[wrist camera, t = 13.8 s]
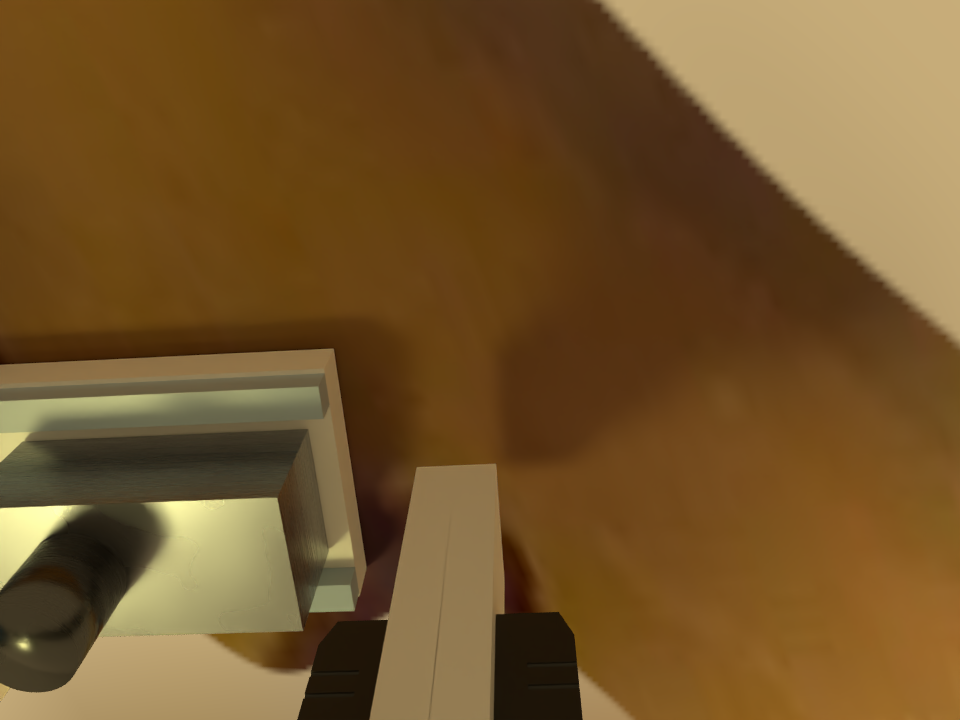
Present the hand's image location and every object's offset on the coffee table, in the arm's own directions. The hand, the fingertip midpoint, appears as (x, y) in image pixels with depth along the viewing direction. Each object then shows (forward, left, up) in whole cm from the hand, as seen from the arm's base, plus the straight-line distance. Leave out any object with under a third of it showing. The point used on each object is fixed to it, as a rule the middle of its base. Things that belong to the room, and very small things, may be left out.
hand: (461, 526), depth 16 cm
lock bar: (-6, 0, -1) cm, 6 cm away
